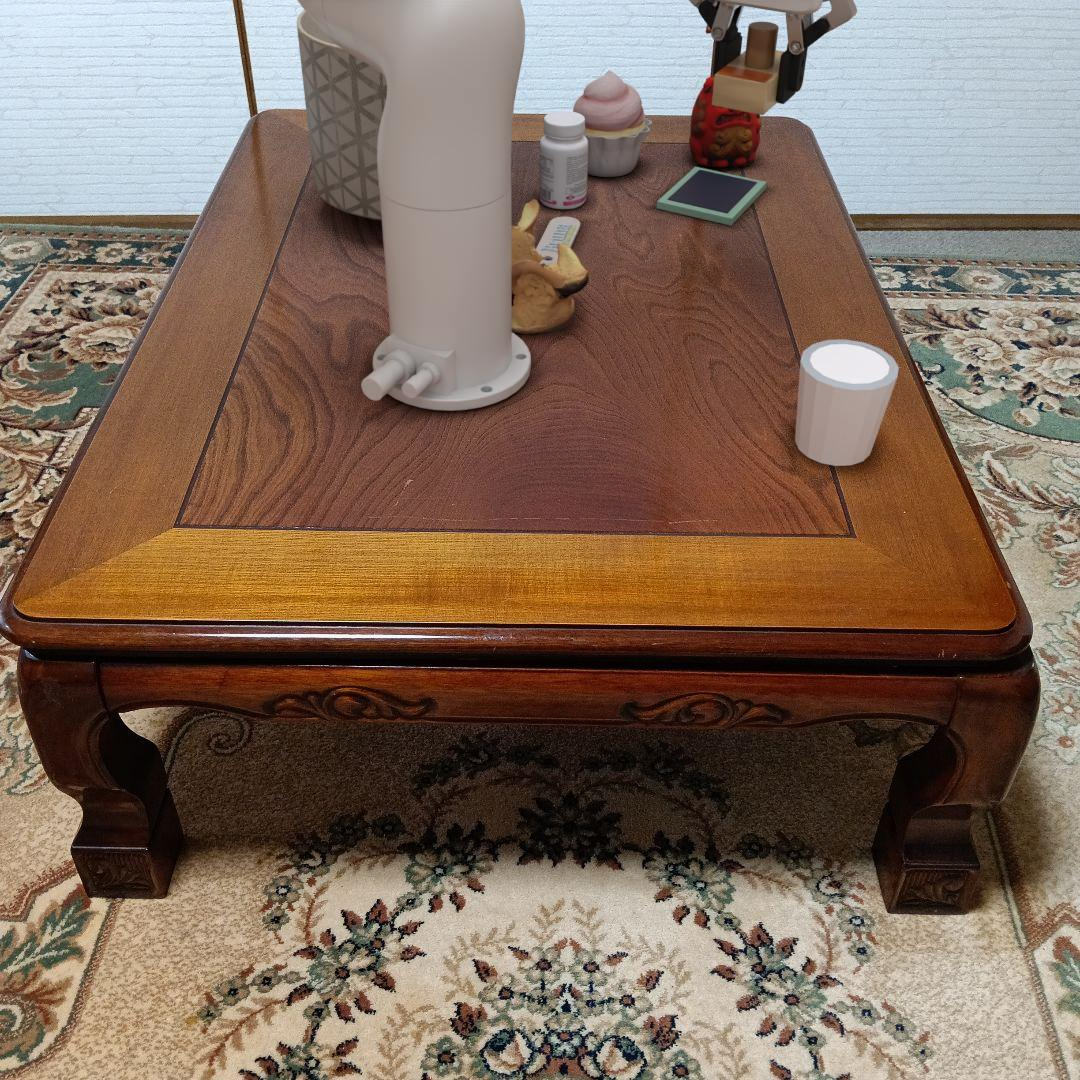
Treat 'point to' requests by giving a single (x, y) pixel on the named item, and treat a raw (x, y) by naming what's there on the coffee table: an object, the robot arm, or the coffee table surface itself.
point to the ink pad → (712, 195)
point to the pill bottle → (563, 161)
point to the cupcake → (612, 125)
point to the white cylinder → (842, 400)
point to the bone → (542, 280)
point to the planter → (341, 121)
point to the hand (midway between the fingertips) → (755, 90)
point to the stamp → (751, 73)
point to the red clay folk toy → (722, 131)
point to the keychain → (557, 237)
